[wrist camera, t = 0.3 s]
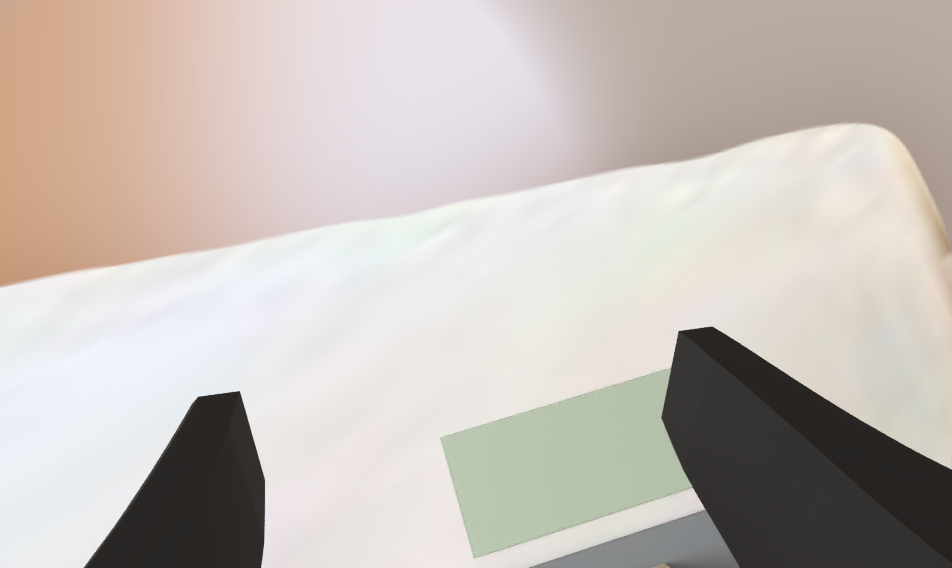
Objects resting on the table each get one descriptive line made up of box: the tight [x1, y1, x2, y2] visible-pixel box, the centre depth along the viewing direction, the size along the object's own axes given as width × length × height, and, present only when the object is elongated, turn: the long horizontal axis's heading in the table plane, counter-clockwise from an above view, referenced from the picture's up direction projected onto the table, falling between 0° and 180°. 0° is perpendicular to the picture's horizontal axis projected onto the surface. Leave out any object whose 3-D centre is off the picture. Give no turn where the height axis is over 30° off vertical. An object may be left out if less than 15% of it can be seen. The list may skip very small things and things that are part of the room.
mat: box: [441, 368, 692, 558], centre depth 40 cm, size 7×16×1 cm, turn 106°
